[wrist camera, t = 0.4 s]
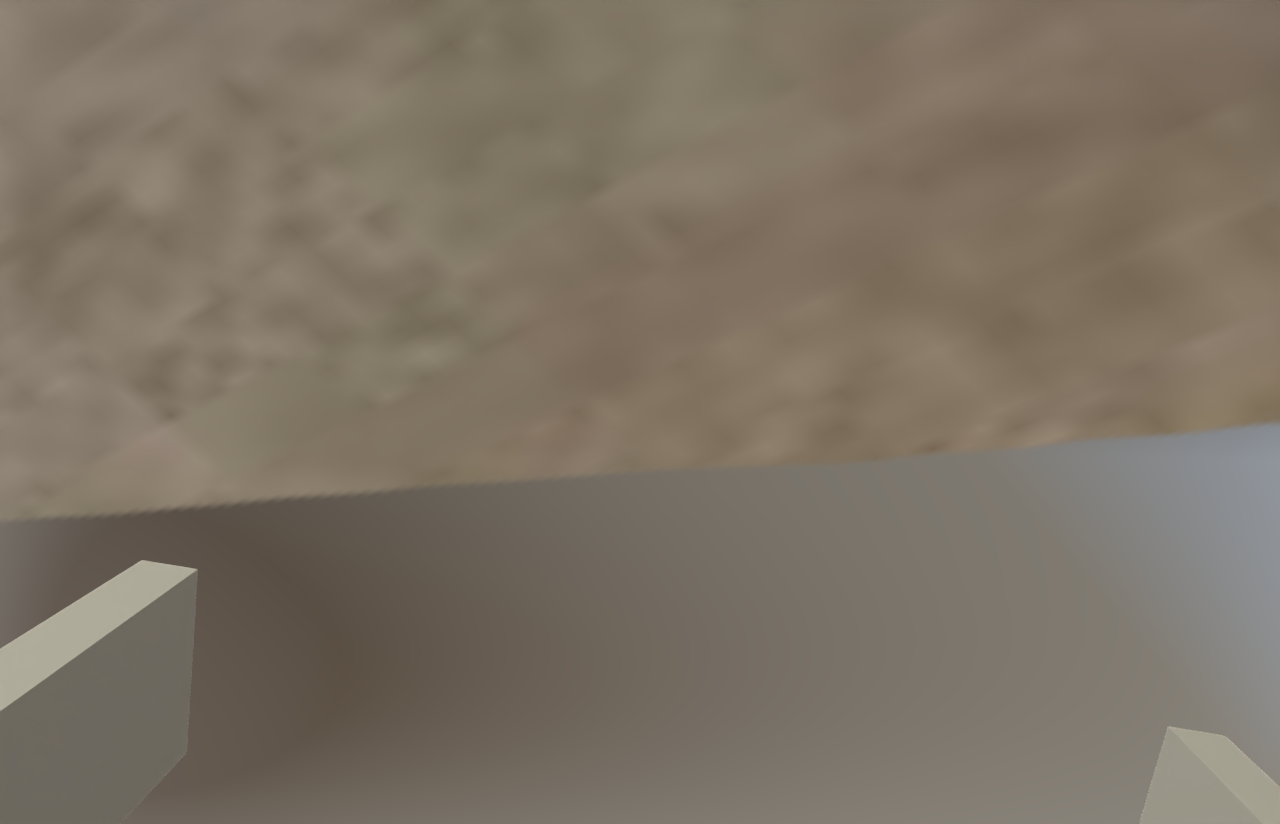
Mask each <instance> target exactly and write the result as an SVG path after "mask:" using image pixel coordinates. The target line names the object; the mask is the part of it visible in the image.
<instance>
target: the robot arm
mask: <svg viewBox="0 0 1280 824" xmlns="http://www.w3.org/2000/svg"><path fill="white" fill-rule="evenodd" d="M197 573H198V569H193V568H187V567H181V566H175V565H168V564H162V563H156V562H150V561H144V560H141V561H140V562H138V563H136V564H135V565H133V566H132V567H130V568H128V569H127V570H126V571H124V572H122V573H120V574H119V575H117V576H116V577H114V578H113V579H111V580H109V581H108V582H106V583H105V584H103V585H101V586H100V587H98V588H97V589H95V590H93V591H92V592H90V593H89V594H87V595H85V596H84V597H82V598H81V599H79V600H77V601H76V602H74V603H73V604H71V605H69V606H68V607H66V608H65V609H63V610H61V611H60V612H58V613H57V614H55V615H54V616H52V617H50V618H49V619H47V620H46V621H44V622H42V623H41V624H39V625H37V626H36V627H34V628H33V629H31V630H30V631H28V632H26V633H25V634H23V635H22V636H20V637H18V638H17V639H15V640H14V641H12V642H11V643H9V644H7V645H6V646H4V647H2V648H1V649H0V824H121V823H122V822H123V821H124V819H125V818H126V817H127V816H128V815H129V814H130V813H131V812H132V811H133V810H134V809H135V808H136V807H137V805H138V804H139V803H140V802H141V801H142V800H143V799H144V798H145V797H146V796H147V795H148V794H149V793H150V792H151V790H152V789H153V788H154V787H155V786H156V785H157V784H158V783H159V782H160V781H161V780H162V779H163V777H164V776H165V775H166V774H167V773H168V772H169V771H170V770H171V769H172V768H173V767H174V766H175V765H176V764H177V762H178V761H179V760H180V759H181V758H182V757H183V756H184V755H185V754H186V753H187V737H188V721H189V705H190V687H191V672H192V656H193V655H192V654H193V639H194V622H195V607H196V589H197ZM1139 824H1280V787H1279V786H1278V785H1277V784H1276V783H1275V782H1274V781H1273V780H1272V779H1271V778H1270V777H1269V776H1268V775H1267V774H1265V773H1264V772H1263V771H1262V770H1261V769H1260V768H1259V767H1258V766H1257V765H1256V764H1255V763H1254V762H1253V761H1252V760H1250V759H1249V758H1248V757H1247V756H1246V755H1245V754H1244V753H1243V752H1242V751H1241V750H1240V749H1239V748H1238V747H1236V746H1235V745H1234V744H1233V743H1232V742H1231V741H1230V740H1229V739H1228V738H1227V737H1226V736H1224V735H1218V734H1211V733H1206V732H1199V731H1193V730H1187V729H1181V728H1175V727H1168V728H1167V731H1166V734H1165V738H1164V741H1163V745H1162V748H1161V751H1160V755H1159V758H1158V761H1157V765H1156V768H1155V771H1154V775H1153V778H1152V782H1151V785H1150V789H1149V792H1148V795H1147V799H1146V802H1145V805H1144V809H1143V812H1142V815H1141V819H1140V822H1139Z"/></svg>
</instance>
